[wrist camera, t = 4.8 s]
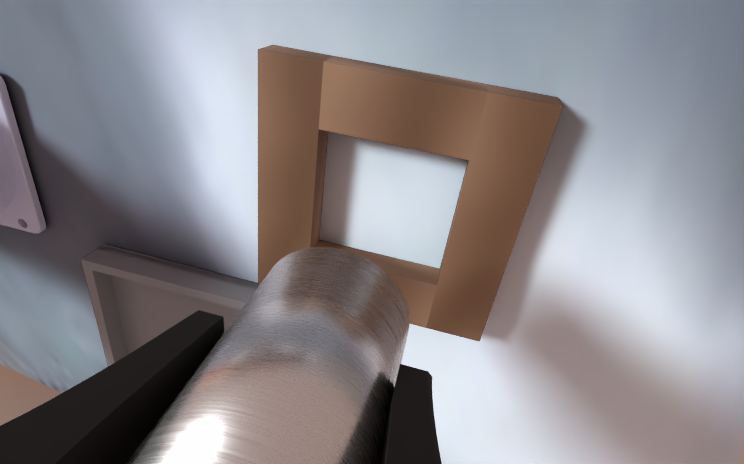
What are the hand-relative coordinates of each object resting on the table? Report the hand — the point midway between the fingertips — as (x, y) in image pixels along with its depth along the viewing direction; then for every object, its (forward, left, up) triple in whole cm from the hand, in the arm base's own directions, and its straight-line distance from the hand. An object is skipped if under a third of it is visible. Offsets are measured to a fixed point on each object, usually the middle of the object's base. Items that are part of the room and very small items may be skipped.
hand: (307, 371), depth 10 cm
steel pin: (0, 0, -2) cm, 2 cm away
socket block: (0, 0, -9) cm, 9 cm away
